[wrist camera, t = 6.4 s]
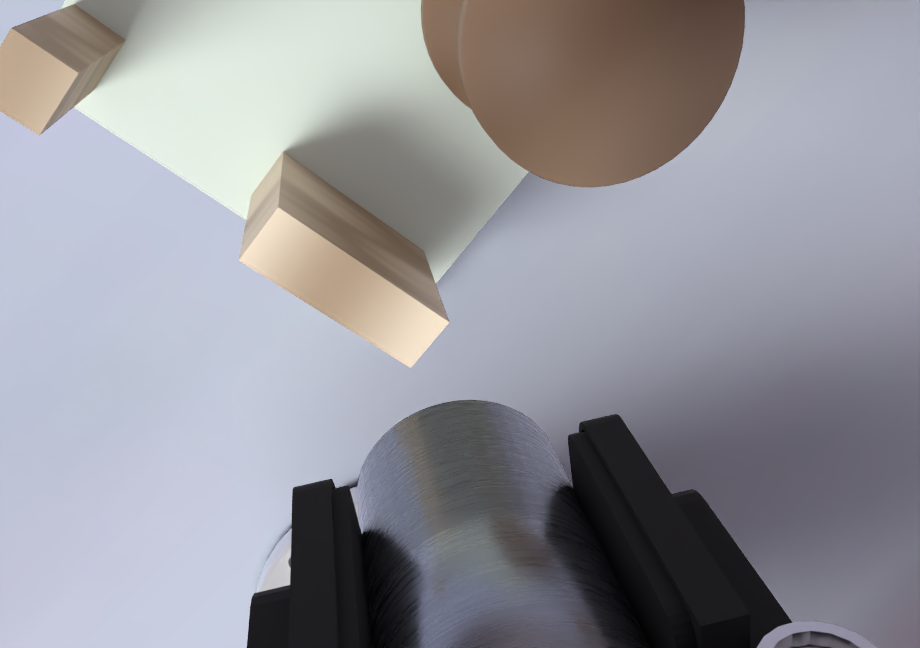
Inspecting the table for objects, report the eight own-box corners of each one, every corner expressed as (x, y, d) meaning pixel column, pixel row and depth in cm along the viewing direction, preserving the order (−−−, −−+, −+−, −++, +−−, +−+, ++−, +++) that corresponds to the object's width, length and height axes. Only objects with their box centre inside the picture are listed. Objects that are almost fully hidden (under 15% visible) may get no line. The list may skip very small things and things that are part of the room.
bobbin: (676, -7, 23) (800, 20, 17) (536, 162, 24) (607, 237, 19) (520, -168, 20) (604, -199, 15) (376, 30, 22) (401, 70, 16)
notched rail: (423, 250, 25) (449, 322, 21) (391, 289, 25) (410, 367, 21) (74, 4, 20) (11, 28, 16) (42, 56, 21) (-28, 93, 16)
